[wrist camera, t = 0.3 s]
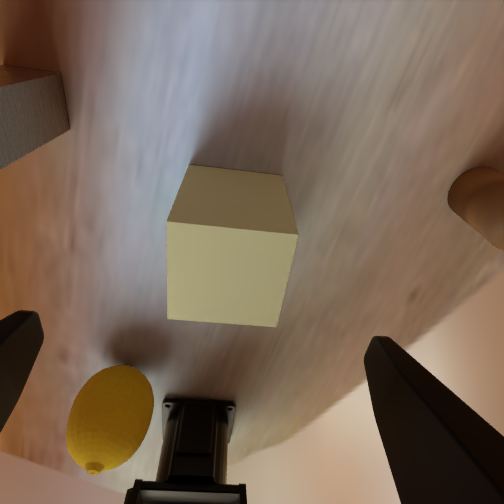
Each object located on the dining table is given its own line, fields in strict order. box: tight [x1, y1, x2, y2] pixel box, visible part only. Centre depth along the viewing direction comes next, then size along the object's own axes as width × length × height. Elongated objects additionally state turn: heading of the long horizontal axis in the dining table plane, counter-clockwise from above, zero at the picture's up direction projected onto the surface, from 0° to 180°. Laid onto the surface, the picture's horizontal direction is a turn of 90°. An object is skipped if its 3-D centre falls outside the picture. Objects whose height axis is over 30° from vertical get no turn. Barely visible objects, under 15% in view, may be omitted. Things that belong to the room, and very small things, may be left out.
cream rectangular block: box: [167, 165, 299, 327], centre depth 17 cm, size 5×5×7 cm
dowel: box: [448, 167, 504, 250], centre depth 18 cm, size 3×3×4 cm
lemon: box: [66, 365, 154, 475], centre depth 24 cm, size 6×6×8 cm
